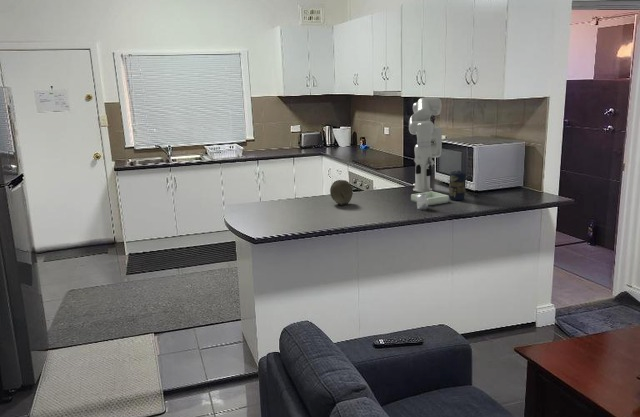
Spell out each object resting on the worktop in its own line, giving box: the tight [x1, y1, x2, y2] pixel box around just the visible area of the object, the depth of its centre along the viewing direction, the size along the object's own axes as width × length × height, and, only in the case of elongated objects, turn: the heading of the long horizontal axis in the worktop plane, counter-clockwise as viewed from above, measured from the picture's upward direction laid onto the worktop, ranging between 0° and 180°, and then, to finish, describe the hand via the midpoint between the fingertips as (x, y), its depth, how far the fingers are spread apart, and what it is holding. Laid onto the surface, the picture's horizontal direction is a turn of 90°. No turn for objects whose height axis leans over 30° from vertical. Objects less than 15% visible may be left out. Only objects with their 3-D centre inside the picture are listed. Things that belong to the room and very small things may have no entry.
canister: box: [448, 170, 467, 201], centre depth 317 cm, size 10×10×18 cm
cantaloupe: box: [329, 179, 354, 206], centre depth 315 cm, size 14×14×15 cm
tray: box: [410, 190, 450, 207], centre depth 316 cm, size 16×16×4 cm
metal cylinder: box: [416, 194, 428, 211], centre depth 299 cm, size 6×6×8 cm
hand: (423, 174), depth 296 cm, fingers open, 9 cm apart
